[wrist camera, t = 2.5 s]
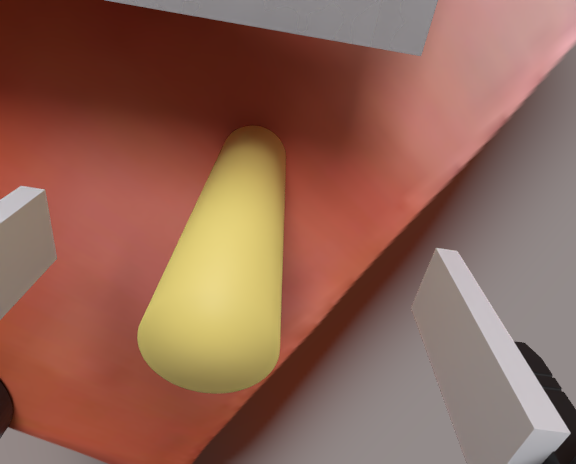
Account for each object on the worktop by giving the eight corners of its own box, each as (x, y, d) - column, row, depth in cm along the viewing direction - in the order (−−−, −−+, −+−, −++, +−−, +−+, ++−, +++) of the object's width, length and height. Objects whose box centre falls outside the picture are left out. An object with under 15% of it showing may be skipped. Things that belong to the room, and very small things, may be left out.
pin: (280, 191, 23) (269, 400, 11) (219, 182, 23) (139, 385, 11) (290, 131, 21) (290, 302, 9) (224, 120, 21) (134, 281, 9)
